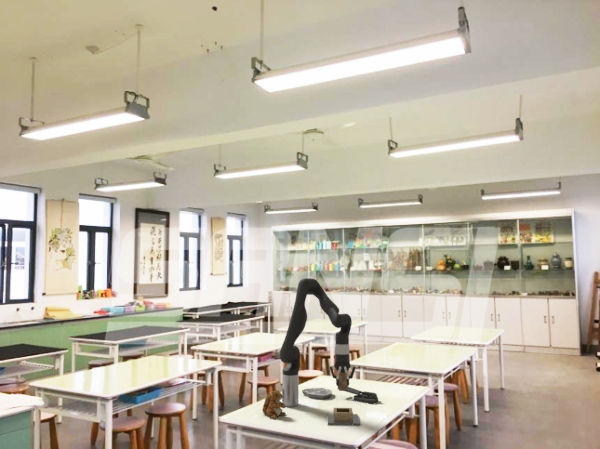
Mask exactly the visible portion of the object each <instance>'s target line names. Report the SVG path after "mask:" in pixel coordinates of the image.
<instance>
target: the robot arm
mask: <svg viewBox="0 0 600 449" xmlns="http://www.w3.org/2000/svg"><path fill="white" fill-rule="evenodd" d="M308 295H309V296H310V295H313V296H314V297H316V298H317V300H318V302H319V306H320V308H321V309H322V311H323V312H324V314H326V315H327V316H328V319H329V320H330V322H331V324H332V325H333V326H334V327H335V328H337V329H340V331H338V332H336V333H335V339H334V340H335V343H334V344H335V346H334V358H335V360H334V365H330V366H329V370H330V373H331V377H332V378H333V379H335V384H336V386H337V388H338V387H339V373H340V372H345V373H347V387H350V379H353V377H354V374H355V371H356V366H354V365H351V363H350V361H351V360H350V352H351V351H350V342H349V341H350V340H349V339H350V332H351V330H352V329H351V328H352V324H353V322H352V318H351V316H350V315H349V314H348V313H340V308H339V307H338V306H337V305H336V304H335V303H334V302H333V300H332V299H331V298H330V297H329V296H328V294H327V293H326V292H325V290H324V289H323V287H322V286H321V285H320V282H318V281H317V279H315V278H307V277H306V278H305V277H304V278H300V280H299V282H298V284H297V290H296V296H295V299H294V305H293V309H292V312H291V317H290V318H289V319H290V320H289V323H288V328H287V331H286V334H285V338H284V339H283V343H282V346H281V348H280V352H279V359H280V361H281V362H282V363H283V364H286V366H285V367H284V368H283V369H282V389H281V394H282V395H283V397H282V399H281V402H282V403H284V404H285V407H287V408H288V407H289V408H291V407H293V408H294V407H297V406H299V372H300V371H299V370H300V368H301V352H300V349H299V346H297V345H295V343H296V341H297V340H298V338H299V337H300V335H302V333H303V331H304V329H305V327H306V324H307V321H308V313H307V309H306V298H307V296H308ZM335 369H336V371H337V372H336V374H335V372H334V370H335ZM349 369H350V371H351V372H350V374H349V373H348V371H349Z"/></svg>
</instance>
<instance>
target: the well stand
mask: <svg viewBox="0 0 600 449" xmlns="http://www.w3.org/2000/svg"><path fill="white" fill-rule="evenodd" d="M326 417H327V425H328V426H361V422H360V417H359V414H358V413H354V412H353V408H352V407H333V413H327V416H326Z"/></svg>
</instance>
